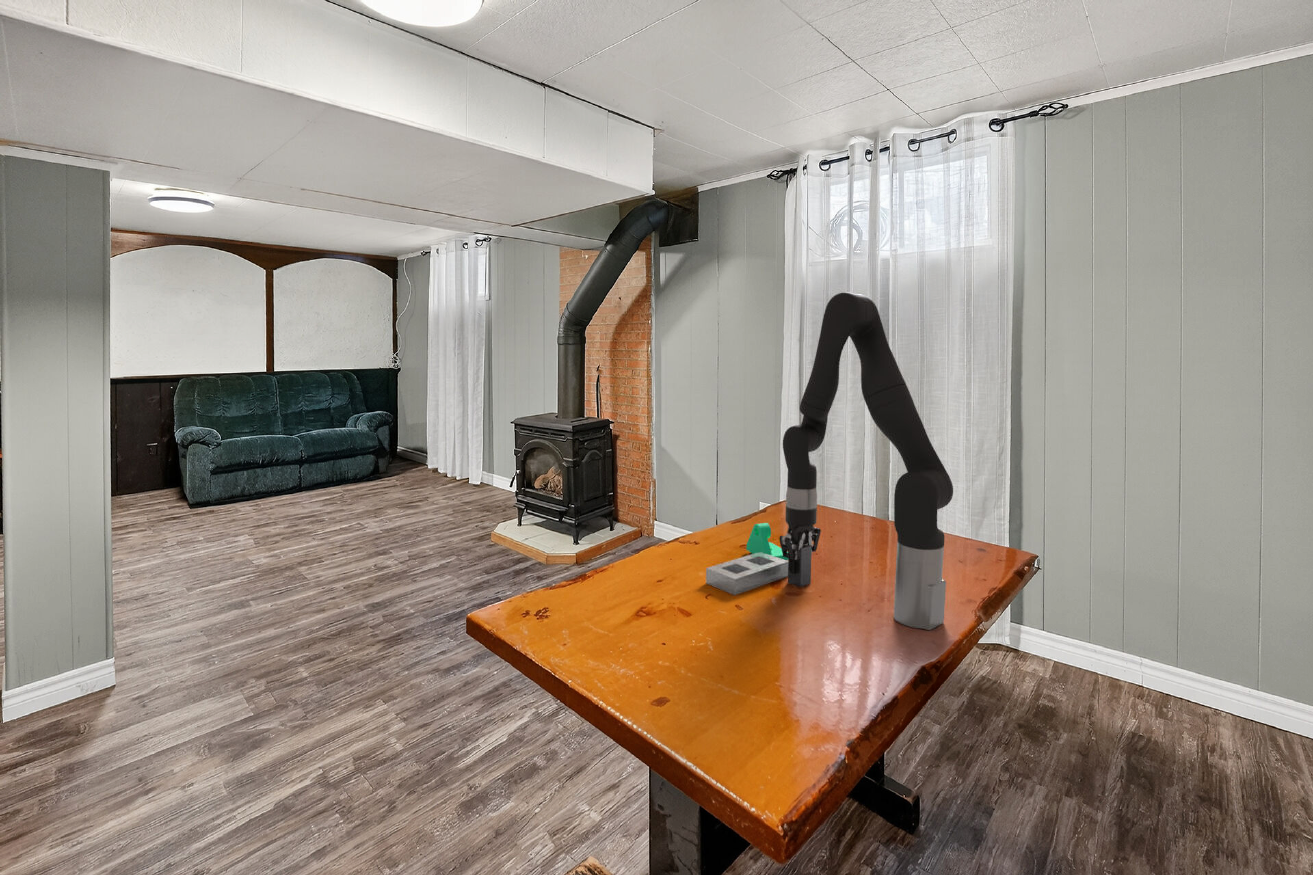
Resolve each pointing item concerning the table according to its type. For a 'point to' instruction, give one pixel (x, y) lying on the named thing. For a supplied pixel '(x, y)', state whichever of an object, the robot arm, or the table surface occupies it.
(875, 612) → the table surface
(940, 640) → the table surface
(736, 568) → the rail
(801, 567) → the peg
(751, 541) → the camera mount
